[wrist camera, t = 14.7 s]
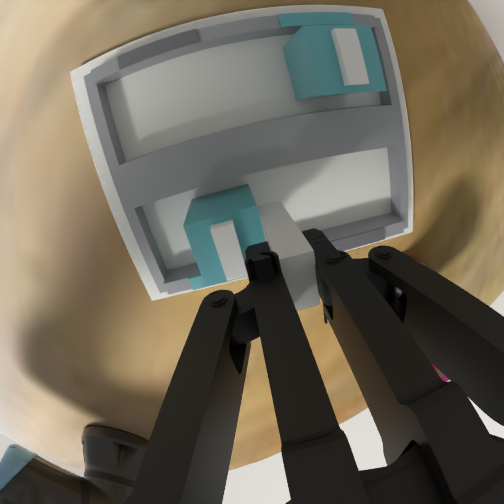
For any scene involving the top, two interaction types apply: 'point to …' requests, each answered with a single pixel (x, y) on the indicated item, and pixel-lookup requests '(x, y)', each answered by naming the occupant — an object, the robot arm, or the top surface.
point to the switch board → (227, 106)
